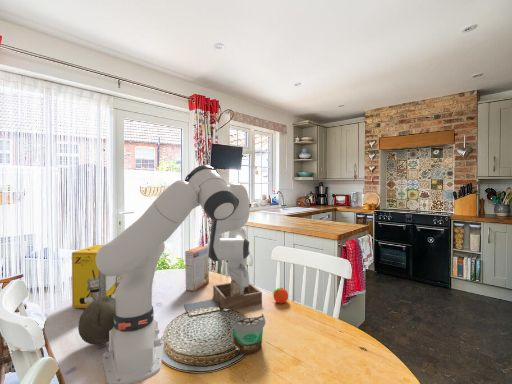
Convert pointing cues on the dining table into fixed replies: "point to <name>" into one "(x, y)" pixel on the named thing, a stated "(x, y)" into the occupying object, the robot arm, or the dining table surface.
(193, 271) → the cracker box
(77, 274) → the packaging box
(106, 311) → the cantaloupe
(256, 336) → the food container
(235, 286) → the beech block
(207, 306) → the slate mat
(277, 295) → the tomato
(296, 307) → the dining table surface
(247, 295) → the box frame
